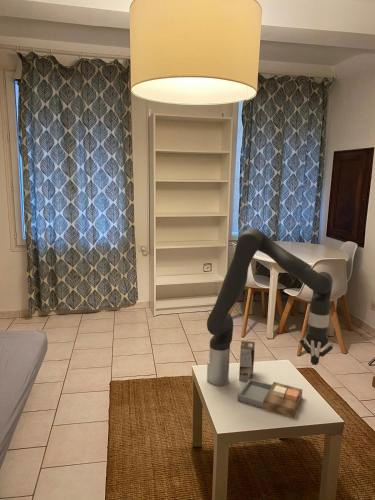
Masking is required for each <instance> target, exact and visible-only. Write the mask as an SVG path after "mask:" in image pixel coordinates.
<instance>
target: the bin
mask: <svg viewBox="0 0 375 500" xmlns="http://www.w3.org/2000/svg"><path fill="white" fill-rule="evenodd" d="M272 384H273V383H272ZM272 384H271V383H267V382H263V381H260V380H256V379H253V378H252V379H250V378H249V380H248V381H246V383H245V384H244V386H243V387H242V389H241V390H240V391H239V392H238V395H237V402H239V403H243V404H245V405H249V406H253V407H255V408H259V409H261V410H264V409H263V400H264V398H265V397H266V395H267V393H268V391H269V390H270V388H271V386H272Z"/></svg>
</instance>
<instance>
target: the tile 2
mask: <svg viewBox="0 0 375 500" xmlns="http://www.w3.org/2000/svg"><path fill="white" fill-rule="evenodd" d="M298 396H299V391H295V390H291V389H288V390H287V392H286V394H285V398H286V399H290V400H293V401H297V398H298Z"/></svg>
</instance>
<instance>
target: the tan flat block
mask: <svg viewBox="0 0 375 500" xmlns="http://www.w3.org/2000/svg"><path fill="white" fill-rule="evenodd" d="M276 385H277V386H280V387H284V388H287V390H288V389H291V390H295V391H299V396H298V398H297V401H293V400H290V399H286V398H285V397H284V398H283V397H279V396H276V395H273V391H274V389H275V387H276ZM302 398H303V389H302V388H298V387H294V386H291V385H287V384H283V383H280V382H275V381H273V383H272V386H271V388H270V390H269V391H268V393H267V395H266V397H265V398H264V400H263V409H262V410H265V411H268V412H271V413H275V414H278V415H282V416H284V417H289V418H292V419H294V417H295V416H296V413H297V411H298V409H299V406H300V404H301V401H302Z"/></svg>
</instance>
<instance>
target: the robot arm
mask: <svg viewBox="0 0 375 500" xmlns="http://www.w3.org/2000/svg"><path fill="white" fill-rule="evenodd" d="M257 252H260V253H263V254H265V255H267V256H268V258H271V259H272V260H273V261H274V262H275V263H276V264H277V265H278V266H279V268H281V269H282V270H283V271H284V272H287V273H288V274H290V276H293V277H294V278H296V279H298V280H299V281H300V282H302V283H303V284H304V285H305V286H306V287H308V288H309V289H311V290H312V296H311V301H310V306H309V307H310V308H309V314H308V321H307V331H306V333H307V334H306V335H305V337H304V338H303V337H301V338H300V340H299V343H300V344H301V347H302V348H303V349H304V350H305V353H306V354H308V355H310V363H311V364H312V366H317V365H318V364H319V362H320V357H322V358H323V357H325V356H326V355H327V354H328V353H330V352H331V351H332V350H333V348H334V344H332V343H331V342H330V341H329V338H328V335H329V325H330V309H331V296H332V295H331V294H332V289H333V277H332V275H331V274H330V273H328V272H326V271H320V272H318V271H316V270H315V269H313V268H312V266H311V264H310V263H308V262H306V261H304V260H303V259H301V258H299V257H297V256H296V255H294V254H293V253H291V252H290V251H288V250H286V249H285V248H283V247H281V246H280V245H279V244H277V243H276V242H275V241H273V240H272V239H271V238H269V236H267V234H265V233H264V232H262V231H261V230H260V229H258V228H255V227H254V228H253V227H250V228H248V229H246V230H245V231H243V232H242V233H240V235H239V236H238V238H237V241H236V245H235V250H234V253H233V258H232V259H231V262H230V265H228V266H229V267H228V269H227V272H226V274H225V276H224V279H223V281H222V285H221V288H220V290H219V294H218V296H217V299H216V301H215V303H214V306H213V307H212V310H211V311H210V313H209V316H208V318H207V321H206V328H207V331H208V332H209V333H210V335H212V337H211V339H210V341H209V353H208V354H209V357H208V358H209V359H208V361H207V362H206V363H207V365H206V366H207V370H206V372H207V373H206V374H207V375H206V381H207V382H209V383H210V384H211V385H213V386H219V387H222V386H225V385H227V384H229V379H230V377H229V373H230V353H231V343H232V342H233V341H232V340H233V334H234V319H233V317H232V314H231V313H229V312H230V311H231V310H232V308H233V307H234V306H235V304H236V303H237V302H238V301H239V299H240V298H241V297H242V294H243V293H244V290H245V287H246V285H247V282H248V276H249V275H248V272H249V269H250V268H249V267H250V265H251V263H252V260H253V258H254V256H255V254H256V253H257ZM324 347H325V349H324V350H322V351H321V349H322V348H324Z"/></svg>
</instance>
